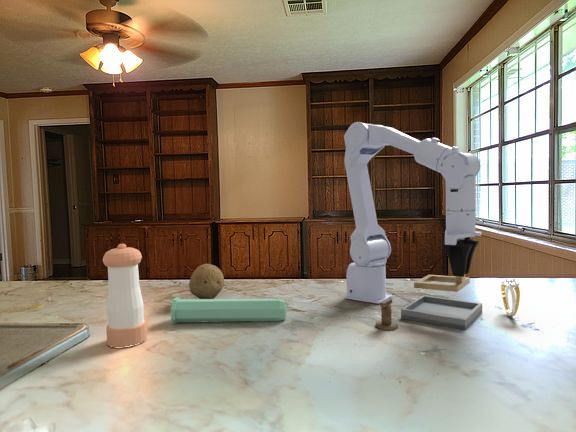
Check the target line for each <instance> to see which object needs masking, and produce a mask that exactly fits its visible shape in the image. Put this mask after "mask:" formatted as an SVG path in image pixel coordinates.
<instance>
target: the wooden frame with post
mask: <svg viewBox="0 0 576 432" xmlns="http://www.w3.org/2000/svg"><path fill="white" fill-rule="evenodd" d="M470 279H471V278H470V277H466V274H465V275H464V277H459V276H453V275H440V274H439V275H437V274H427V275H426V276H424V277H422V278H420V279H418V280H415V281H414V282H413V288H414V289H422V290H424V289H425V290H431V291H443V292H444V291H445V292H455V293H457V292H459V291H460V290H462V289H464V288H465V287H466V286H468V285H469V284H470V283H471V282H470Z"/></svg>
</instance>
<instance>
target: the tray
mask: <svg viewBox="0 0 576 432" xmlns="http://www.w3.org/2000/svg"><path fill="white" fill-rule="evenodd" d="M482 313H483V303H482V302H481V303H480V302H475V301H474V302H473V301H468V300H467V301H466V300H461V299H453V298H444V297H438V296H432V295H421V296H420V297H418V298H416V299H415V300H413V301H412V302H410V303H408V304H407V305H405V306H403V307H402V308H401V309H400V317H401V318H400V319H404V320H409V321H415V322H420V323H426V324H429V325H430V324H432V325H437V326H441V327H442V326H443V327H447V328H453V329H458V330H463V331H466V330H467V329H468V328H469V327H470V326H471V325H472V324H473V323H474V321H476V320H477V318H479V317H480V316H481V315H482Z"/></svg>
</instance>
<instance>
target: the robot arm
mask: <svg viewBox="0 0 576 432" xmlns="http://www.w3.org/2000/svg"><path fill="white" fill-rule="evenodd" d="M343 139H344V145H345V153H344V159H343V160H344V168H345V173H346V178H347V184H348V190H349V195H350V201H351V207H352V211H353V218H354V223H355V229H354V231H352V233H351V235H350V237H349V238H350V248H349V254H350V257H351V260H352V261H353V262H351V263H350V264H348V266H347V269H346V275H345V277H346V295H345V297H344V298H345V299H347V300H351V301H352V300H353V301H359V302H365V303H371V304H379V305H380V302H382V301H384V300H386V299H392V297H393V294H388V293H387V288H386V287H387V286H386V284H387V280H386V279H387V277H386V275H387V272H386V263H387V259H388V258H389V257H390V256H391V253H392V246H391V242H390V241H389V240H388V237H387V235H386V231H385V229H383V228H382V227H381V226H380V225H379V224H378V219H377V212H376V207H375V201H374V197H373V190H372V185H371V179H370V174H369V168H368V164H369V162H370V161H371V159H372V158H374V156H375V155H377V154H378V153H379V152H380V151H381V150H382V149H384V148H385V146H391V147H394V148H397V149H399V150H401V151H403V152H406V153H409V154H412V155H413V157H414V160H415V162H416V163H418V164H420V165H421V166H422V165H423V166H425V167H427V168H429V169H430V170H433V171H435V172H437V173H440V174H441V176H442V177H443V179H444V180H445V231H444V241H443V242H441V243H442V248H443V250H444V251H445V254H446V256H447V258H448V261H449V267H450V269H451V273H452V276H455V277H456V276H459V277H464V275H465V276H466V275H467V274H468V275H469V272H470V268H471V264H472V260H473V257H474V253H475V250H476V248H477V246H478V244H479V243H480V240H479V239H471V238H474V237H479V236H482V234H483V232H482V231H477V230H476V228H477V227H476V218H477V217H476V210H477V209H476V198H477V197H476V196H477V195H476V194H477V193H476V191H477V190H476V177H477V176H478V175H479V173H480V170H481V162H480V159H479V158H478V157H477V156H476V155H474V154H473V153H472V152H470V151H464V152H460V151H459V150H460V147H458V146H452V147H451V146H449V145H446V144H443V143H442V142H440V141H441V140H440V139H439V138H438V137H431V138H425V139H423V140H419V139H417V138H415V137H412V136H410V135H408V134H406V133H405V132H404V133H403V132H401V131H399V130H398V129H395V128H394V127H390V126H384V125H382V124H373V123H365V122H361V121H356V122H353V123H352V124H350V126H349V127H348V129H347V130H346V131H345V133H344V135H343Z"/></svg>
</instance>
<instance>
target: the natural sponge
mask: <svg viewBox="0 0 576 432" xmlns="http://www.w3.org/2000/svg"><path fill="white" fill-rule="evenodd" d="M224 283H225V278H224V274H223V272H222V270H221V269H220V268H219V267H218V266H216V265H214V264H212V263H204V264H201V265H199V266H198V267H196V269H195V270H193V272H192V274H191V275H190V279H189V283H188V287H189V292H190V293H191V295H193V296H195V297H196V298H197V299H216V297H217V296H218V295H219V294H220V293H221V291H222V290H223V287H224Z"/></svg>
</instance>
